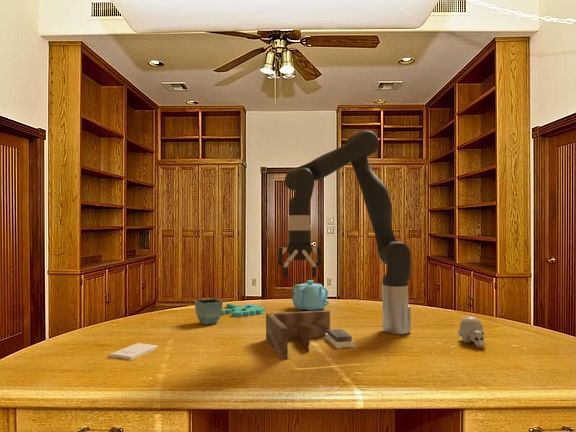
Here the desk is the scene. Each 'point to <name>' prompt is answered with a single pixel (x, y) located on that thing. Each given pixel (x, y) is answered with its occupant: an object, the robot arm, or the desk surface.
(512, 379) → the desk surface
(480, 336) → the grey animal figurine
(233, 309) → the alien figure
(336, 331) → the grey rectangular block
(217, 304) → the flower pot
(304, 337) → the wood plank
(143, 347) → the external hard drive
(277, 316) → the walnut rack
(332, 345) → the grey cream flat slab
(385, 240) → the robot arm
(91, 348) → the desk surface
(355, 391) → the desk surface
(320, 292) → the decorative pot
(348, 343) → the white offcut
